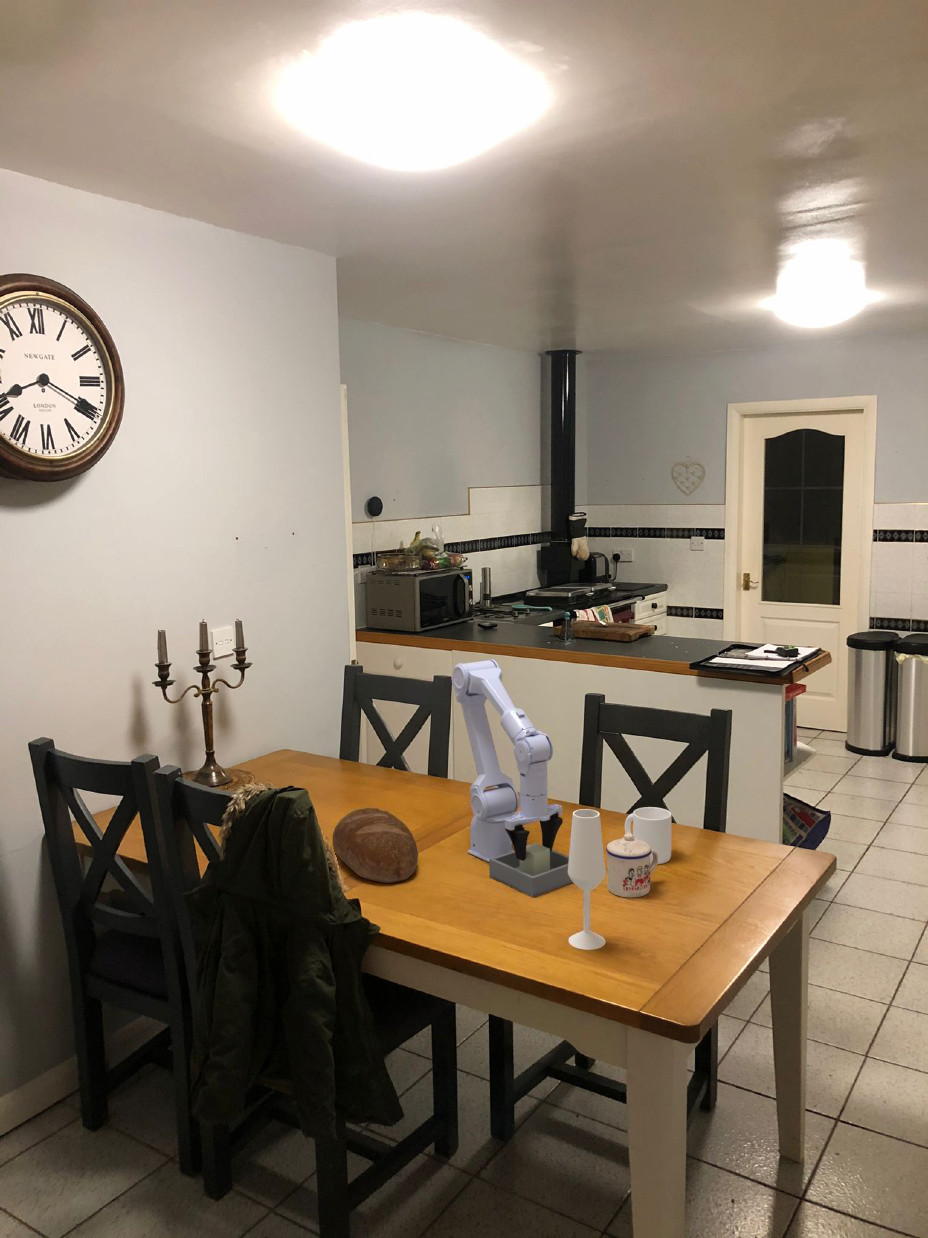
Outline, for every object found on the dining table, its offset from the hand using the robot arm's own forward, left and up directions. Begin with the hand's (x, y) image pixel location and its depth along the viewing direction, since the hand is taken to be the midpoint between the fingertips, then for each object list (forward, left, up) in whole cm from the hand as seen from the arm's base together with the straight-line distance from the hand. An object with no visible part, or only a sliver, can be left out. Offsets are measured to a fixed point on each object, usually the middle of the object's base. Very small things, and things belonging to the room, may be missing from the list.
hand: (534, 854), depth 200 cm
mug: (+7, +27, -5) cm, 28 cm away
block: (0, 0, -5) cm, 5 cm away
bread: (-31, -20, -6) cm, 37 cm away
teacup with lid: (+17, +12, -5) cm, 22 cm away
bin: (0, 0, -5) cm, 5 cm away
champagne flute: (+27, -12, -5) cm, 30 cm away
